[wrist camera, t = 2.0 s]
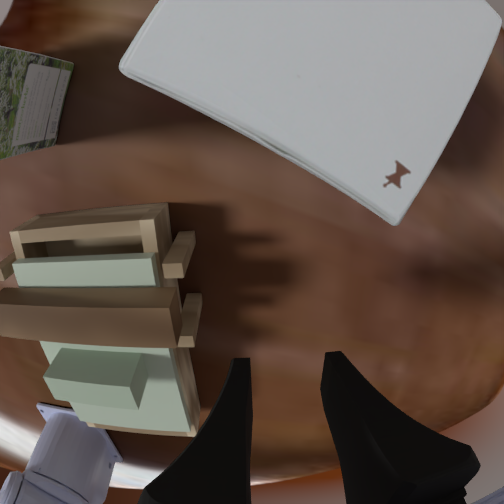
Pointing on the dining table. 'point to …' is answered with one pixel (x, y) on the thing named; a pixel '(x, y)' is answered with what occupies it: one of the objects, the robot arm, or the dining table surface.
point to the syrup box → (30, 100)
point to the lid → (109, 350)
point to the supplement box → (326, 81)
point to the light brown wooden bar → (93, 316)
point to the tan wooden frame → (122, 242)
